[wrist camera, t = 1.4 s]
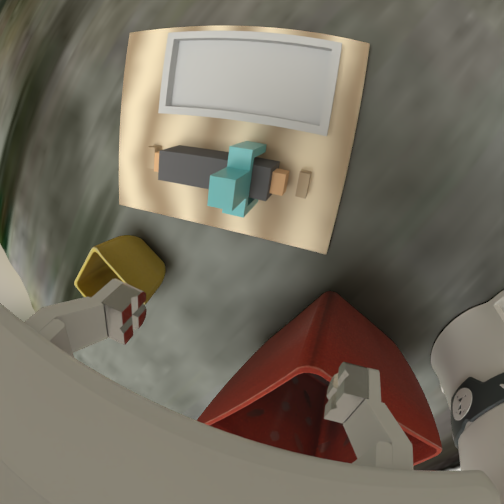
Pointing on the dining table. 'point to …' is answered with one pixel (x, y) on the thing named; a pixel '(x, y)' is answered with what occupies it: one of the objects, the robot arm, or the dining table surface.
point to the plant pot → (320, 386)
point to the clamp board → (233, 132)
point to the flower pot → (121, 266)
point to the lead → (211, 161)
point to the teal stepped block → (235, 180)
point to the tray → (251, 78)
